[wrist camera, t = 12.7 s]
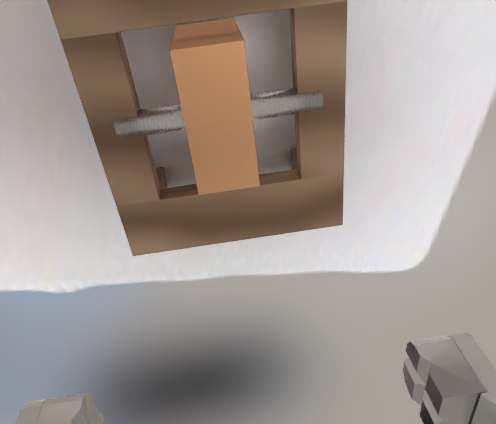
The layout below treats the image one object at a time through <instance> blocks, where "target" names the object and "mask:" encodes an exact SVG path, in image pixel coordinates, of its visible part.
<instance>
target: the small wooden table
mask: <svg viewBox="0 0 496 424" xmlns="http://www.w3.org/2000/svg"><path fill="white" fill-rule="evenodd" d="M48 3H49V6H50V9H51V12H52V15H53V18H54V21H55V24H56V27H57V30H58V33H59V36H60V39H61V42H62V45H63V48H64V51H65V54H66V57H67V60H68V63H69V66H70V69H71V72H72V75H73V78H74V81H75V84H76V87H77V90H78V93H79V96H80V99H81V102H82V105H83V108H84V111H85V113H86V116H87V119H88V122H89V125H90V128H91V131H92V134H93V137H94V140H95V143H96V146H97V149H98V152H99V155H100V158H101V161H102V164H103V167H104V170H105V173H106V176H107V179H108V182H109V185H110V188H111V191H112V194H113V197H114V200H115V203H116V206H117V209H118V212H119V215H120V218H121V221H122V224H123V227H124V230H125V233H126V236H127V239H128V242H129V245H130V248H131V251H132V254H133V256H136V255H143V254H150V253H157V252H163V251H170V250H177V249H183V248H190V247H197V246H204V245H210V244H217V243H224V242H230V241H237V240H244V239H250V238H257V237H264V236H271V235H277V234H284V233H291V232H297V231H304V230H311V229H318V228H324V227H331V226H338V225H342V224H343V176H344V129H345V81H346V34H347V0H48ZM284 9H290V29H291V50H292V71H293V88H296V89H297V92H298V94H300V93H307V92H314V91H321V90H322V95H323V108H322V110H316V111H309V112H302V113H298V114H295V133H296V148H294V149H291V161H292V169H293V170H289V171H282V172H275V173H268V174H262V175H259V183H260V186H258V187H251V188H244V189H237V190H230V191H223V192H217V193H210V194H203V195H199V194H198V189H197V184H193V185H186V186H179V187H172V188H167V184H166V180H165V176H164V172H163V167H162V168H156V167H155V164H154V160H153V156H152V152H151V148H150V144H149V140H148V136H147V135H144V136H143V135H140V136H132V137H125V138H118V137H117V135H116V132H115V128H114V123H113V120H115V119H122V118H129V117H136V116H137V112H138V110H141V109H140V106H139V102H138V98H137V94H136V90H135V86H134V82H133V78H132V75H131V71H130V67H129V63H128V59H127V55H126V51H125V47H124V44H123V40H122V36H121V31H129V30H136V29H144V28H151V27H158V26H166V25H173V24H181V23H188V22H195V21H203V20H210V19H218V18H225V17H232V16H240V15H247V14H255V13H262V12H269V11H277V10H284Z"/></svg>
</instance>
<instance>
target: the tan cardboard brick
mask: <svg viewBox="0 0 496 424" xmlns="http://www.w3.org/2000/svg"><path fill="white" fill-rule="evenodd" d="M170 55H171V60H172V64H173V69H174V74H175V79H176V84H177V89H178V94H179V99H180V104H181V109H182V114H183V119H184V124H185V129H186V134H187V139H188V144H189V149H190V154H191V159H192V164H193V169H194V174H195V179H196V184H197V189H198V194H199V195H203V194H210V193H217V192H223V191H230V190H237V189H244V188H251V187H258V186H260V183H259V173H258V164H257V155H256V146H255V136H254V127H253V118H252V109H251V99H250V90H249V81H248V72H247V62H246V53H245V44H244V39H243V37H242V35H241V33H240V31H239V29H238V26H237V24H236V22H235V20H234V18H227V19H220V20H213V21H205V22H198V23H191V24H183V25H176V27H175V31H174V35H173V39H172V43H171V47H170Z"/></svg>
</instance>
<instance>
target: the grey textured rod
mask: <svg viewBox="0 0 496 424" xmlns="http://www.w3.org/2000/svg"><path fill="white" fill-rule="evenodd" d="M250 99H251V109H252V118H253V120H256V119H264V118H271V117H278V116H285V115H292V114H298V113H302V112H309V111H316V110H322V108H323V95H322V90H321V91H314V92H307V93H300V94H298V92H297V89H296V88H292V89H284V90H277V91H270V92H263V93H256V94H250ZM113 123H114V128H115V132H116V135H117V137H118V138H125V137H132V136H140V135H143V136H144V135H151V134H158V133H165V132H172V131H179V130H186V129H185V124H184V119H183V114H182V109H181V104H177V105H170V106H163V107H156V108H149V109H142V110H138V112H137V116H136V117H129V118H122V119H115V120H113Z"/></svg>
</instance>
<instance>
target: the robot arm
mask: <svg viewBox="0 0 496 424" xmlns="http://www.w3.org/2000/svg"><path fill="white" fill-rule="evenodd" d="M406 352H407V354H408V356H409V358H407V359H406V360H405V362H404V368H403V372H404V378H405V383H406V386H407V389H408V391H409V393H410V395H411V398H412V399H413V400H414V401H416V402H418V403H419V404H420V405H421V412H420V417H421V419H422V421H423V423H424V424H496V369H495V368H494V366H493V365H492V364H491V362H490V361H489V359H488V358H487V356H486V355H485V353H484V352H483V351H482V349H481V348H480V346H479V345H478V343H477V342H476V341H475V339H474V338H473V336H472V335H470V334H469V333H459V334H453V335H448V336H446V335H444V336H438V337H432V338H427V339H421V340H415V341H410V342H409V343H408V344H407V347H406ZM93 404H94V399H93V398H92V396H91V394H90V393H87V394H79V395H73V396H66V397H59V398H52V399H44V400H38V401H31V402H26V404H25V405H24V406H23V408H22V409H21V411H20V414H19V417H18V419H17V422H16V424H104V421H103V416H102V414H101V412H100V411H99V410H97V409H95V408H93Z"/></svg>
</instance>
